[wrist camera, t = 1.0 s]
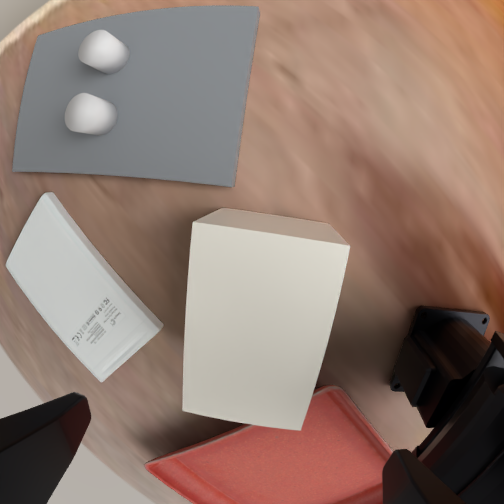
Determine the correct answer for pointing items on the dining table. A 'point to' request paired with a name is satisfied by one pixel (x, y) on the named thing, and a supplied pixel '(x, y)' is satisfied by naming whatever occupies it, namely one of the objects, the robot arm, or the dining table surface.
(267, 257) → the block
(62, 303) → the external hard drive
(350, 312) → the dining table surface
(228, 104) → the base plate
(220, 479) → the plant saucer
